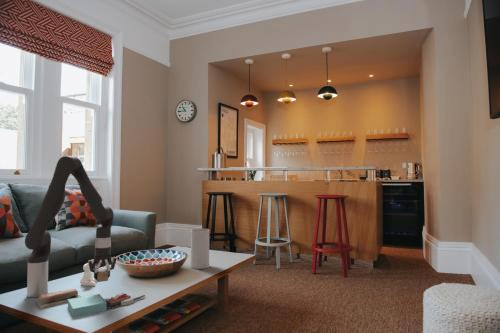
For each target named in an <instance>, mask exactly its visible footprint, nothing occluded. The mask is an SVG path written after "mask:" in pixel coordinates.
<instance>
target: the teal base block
mask: <svg viewBox="0 0 500 333" xmlns="http://www.w3.org/2000/svg"><path fill="white" fill-rule="evenodd" d="M105 300H106V299H104V298H103V296H102V295H101V294H100V293H98V294H96V293H95V294H91V295H86V296H81V297H79V298H74V299H68V303H67V309H68V310H69V312H70V314H71V317H72V318H75V317H79V316H83V315H84V316H85V315H89V314H95V313H99V312H103V311H107V307H106V301H105Z"/></svg>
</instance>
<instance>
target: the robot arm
mask: <svg viewBox="0 0 500 333" xmlns="http://www.w3.org/2000/svg"><path fill="white" fill-rule="evenodd" d="M85 169H86V168H84V165H83V163H82V161H81V159H79V158H78V157H77V156H74V155H73V156H72V155H64V156H62V157H60V158H58V161H57V162H56V166H55V169H54V172H53V176H52V179H51V181H50V183H49V186H48V188H47V191H46V193H45V195H44V197H43V200H42V201H41V205H40V207H39V209H38V212H37V214H36V216H35V219H34V220H33V223H32V225H31V227H30V228H29V231H28V232H27V233H26V236H25V238H24V245H25V248H27V249H28V250H31V251H32V252H31V253H30V255H28V257H27V276H26V277H27V279H26V285H27V287H26V289H27V290H26V296H27V297H28V298H39V296H40V295H44V294H49V293H48V292H49V257H50V255H51V248H52V237H51V233H50V232H49V230H47V228H48V227H49V225H50V223H51V222H52V221H53V220H54V219H55V217H56V216H58V214H59V212H60V211H61V209H62V206H63V205H64V202H65V198H66V185H67V181H68V179H69V178H70V176H73V177H74V179H75V180H76V182H77V184H78V186H79V189H80V193H81V195H82V197H83V198H84V200H85V201H86V203H87V204H88V206H89V209H90V210H91V214H92V215H93V217H94V219H95V220H97V221H98V222H99V224H98V226H97V227H96V229H95V230H96V232H95V241H94V242H95V244H94V258H93V259H89V260H88V261H87V263H88V264H89V268H90V271H91V273H93V278H94V279H95V280H97V271H98V270H99V269H100V267H102V266H104V267H105V269H107V270H108V279H109V278H110V277H111V271H112V270H115V266H116V262H117V258H116V257H115V256H113V257H112V256H111V253H112V251H111V250H112V249H111V248H112V241H111V240H112V238H111V237H112V236H111V233H112V232H111V230H112V229H111V228H112V226H113V222H114V210H113V209H112V208H111V207H110V206H104V204H103V203H102V202H103V198H102V196H101V194H100V192H99V191H98V190H97V189H96V187H95V186H94V185H93V182H92V181H91V179H90V178H89V175H88V173H87V172H86V170H85ZM110 261H111V264H109V263H110ZM94 263H95V266H94V267H93V264H94Z"/></svg>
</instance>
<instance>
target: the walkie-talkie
mask: <svg viewBox="0 0 500 333" xmlns="http://www.w3.org/2000/svg"><path fill="white" fill-rule="evenodd" d="M144 297H146V295H145V294H143V295H140V296H137V297H134V298H132V297H131V295H128V294H127V293H125V292H122V293H119V294H116V295H115V296H111V297H110V298H109V299H104V300H105V301H106V308H108V309H114V308H117V307H119V306H128V305H130V304H133V303H134V302H135V301H137V300H139V299H140V300H141V299H142V298H144Z"/></svg>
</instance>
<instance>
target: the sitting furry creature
mask: <svg viewBox="0 0 500 333" xmlns="http://www.w3.org/2000/svg"><path fill="white" fill-rule="evenodd" d="M82 269H83V271H84V272H83V274H82V277H81V278H80V281H79V284H80V285H82V286H84V287H85V286H86V287H95V286H96V285H97V284H96V283H98V282H97V281H96V280H95V279H94V277H93V275H92V274H93V273H92V272H91V271H90V268H89V264H88V262H86V263H85V264H83V267H82Z"/></svg>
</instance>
